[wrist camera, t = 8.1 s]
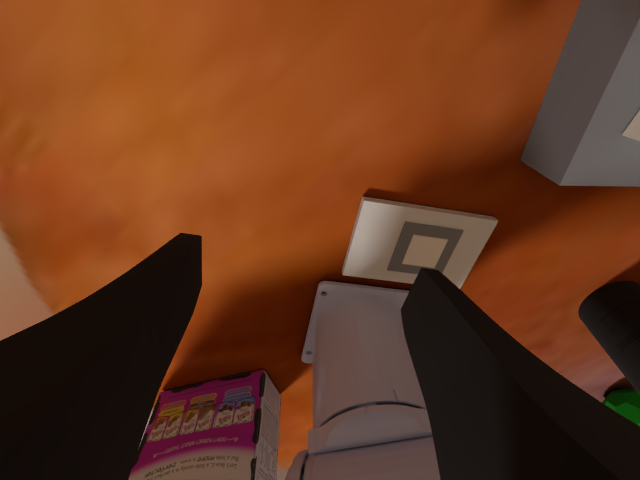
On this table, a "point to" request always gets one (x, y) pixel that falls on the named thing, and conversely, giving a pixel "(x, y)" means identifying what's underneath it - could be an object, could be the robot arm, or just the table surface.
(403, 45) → the table surface
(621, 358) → the drinking cup
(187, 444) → the candy bar box
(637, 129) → the cream block
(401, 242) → the tile
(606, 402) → the green ball
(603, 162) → the gray block
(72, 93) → the table surface
